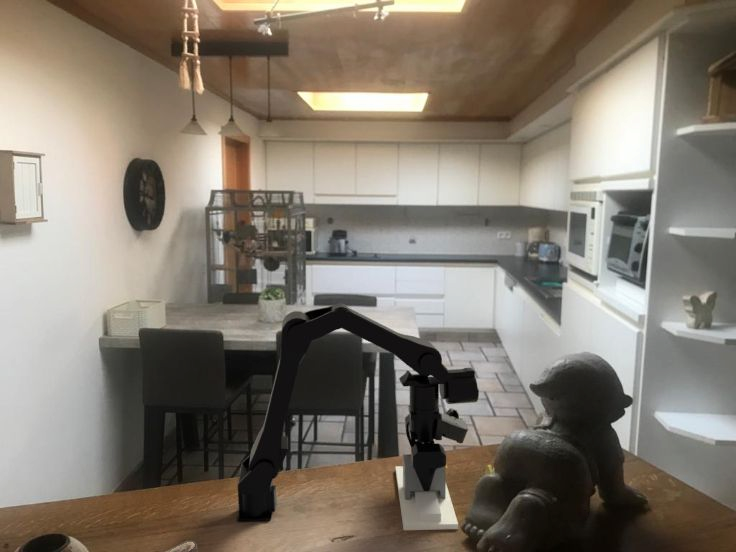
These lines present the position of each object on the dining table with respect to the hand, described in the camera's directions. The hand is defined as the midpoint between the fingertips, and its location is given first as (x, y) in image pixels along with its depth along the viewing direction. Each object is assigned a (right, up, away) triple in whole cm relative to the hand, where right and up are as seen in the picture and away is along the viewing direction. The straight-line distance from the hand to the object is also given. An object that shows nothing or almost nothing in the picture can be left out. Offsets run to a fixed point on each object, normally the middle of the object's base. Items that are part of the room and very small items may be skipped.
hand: (423, 478), depth 113 cm
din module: (0, -3, 0) cm, 3 cm away
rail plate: (0, -4, +1) cm, 4 cm away
